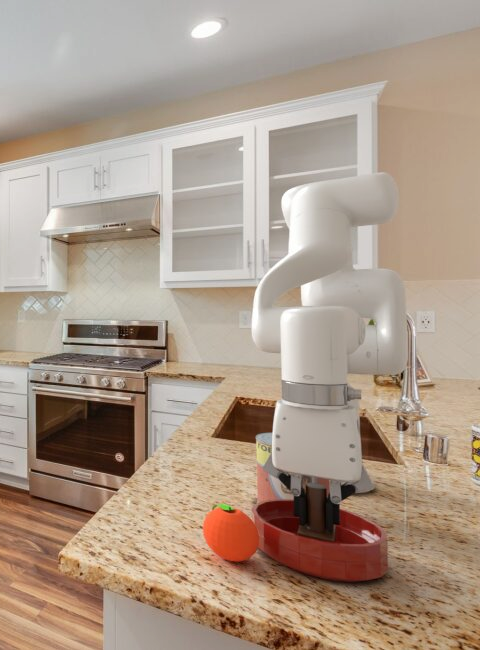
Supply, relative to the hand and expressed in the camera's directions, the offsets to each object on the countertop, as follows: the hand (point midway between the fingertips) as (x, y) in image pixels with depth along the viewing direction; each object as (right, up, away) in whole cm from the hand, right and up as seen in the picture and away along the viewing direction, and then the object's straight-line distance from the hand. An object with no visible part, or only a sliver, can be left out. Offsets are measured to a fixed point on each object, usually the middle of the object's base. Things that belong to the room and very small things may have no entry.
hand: (316, 524), depth 67 cm
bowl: (0, -4, 0) cm, 4 cm away
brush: (0, -4, 0) cm, 4 cm away
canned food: (+8, -5, +16) cm, 18 cm away
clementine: (-12, -5, 0) cm, 13 cm away
